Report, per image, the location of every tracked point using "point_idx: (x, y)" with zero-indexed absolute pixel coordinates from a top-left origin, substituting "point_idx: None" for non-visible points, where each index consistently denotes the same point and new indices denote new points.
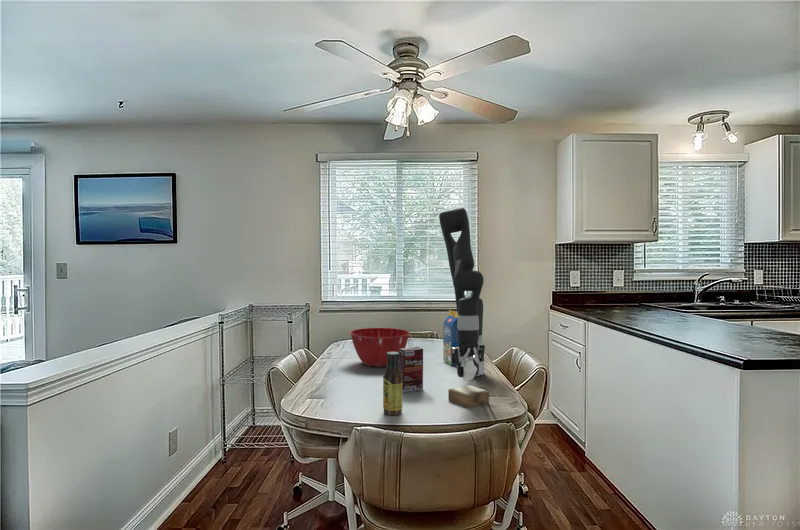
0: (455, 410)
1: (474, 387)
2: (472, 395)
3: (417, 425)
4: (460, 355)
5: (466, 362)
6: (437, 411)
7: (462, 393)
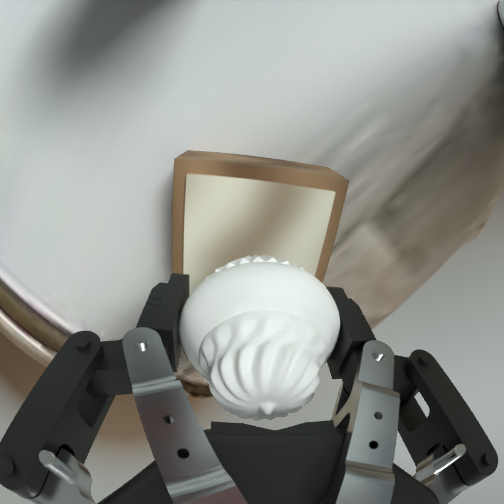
0: (125, 268)
1: (311, 244)
2: None
3: (3, 284)
4: (176, 426)
5: (220, 397)
6: (69, 237)
7: (180, 268)
